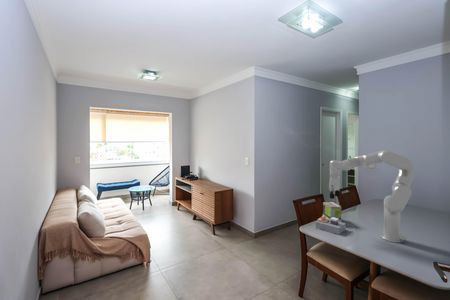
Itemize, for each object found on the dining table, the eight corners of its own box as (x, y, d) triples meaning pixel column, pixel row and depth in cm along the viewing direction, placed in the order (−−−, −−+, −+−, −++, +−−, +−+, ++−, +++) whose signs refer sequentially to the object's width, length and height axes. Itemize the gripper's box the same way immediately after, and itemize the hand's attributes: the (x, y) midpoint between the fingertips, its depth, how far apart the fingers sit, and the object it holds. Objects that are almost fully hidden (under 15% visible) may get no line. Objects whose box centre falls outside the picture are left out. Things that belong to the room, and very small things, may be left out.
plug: (338, 229, 178) (338, 218, 177) (335, 231, 175) (336, 219, 174) (332, 228, 181) (332, 217, 181) (330, 229, 178) (330, 218, 178)
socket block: (345, 229, 178) (345, 223, 178) (338, 234, 169) (338, 228, 169) (323, 223, 192) (323, 217, 191) (315, 227, 182) (315, 221, 182)
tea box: (341, 223, 191) (342, 206, 191) (330, 223, 191) (330, 206, 191) (333, 217, 207) (333, 201, 206) (322, 217, 206) (322, 201, 206)
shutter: (329, 220, 184) (329, 216, 184) (325, 222, 179) (325, 218, 179) (321, 218, 189) (321, 214, 189) (317, 220, 185) (317, 216, 184)
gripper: (334, 174, 185) (334, 194, 186) (325, 176, 173) (325, 198, 174) (344, 175, 179) (343, 196, 180) (335, 178, 168) (335, 200, 168)
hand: (334, 197), depth 177 cm, fingers open, 9 cm apart
